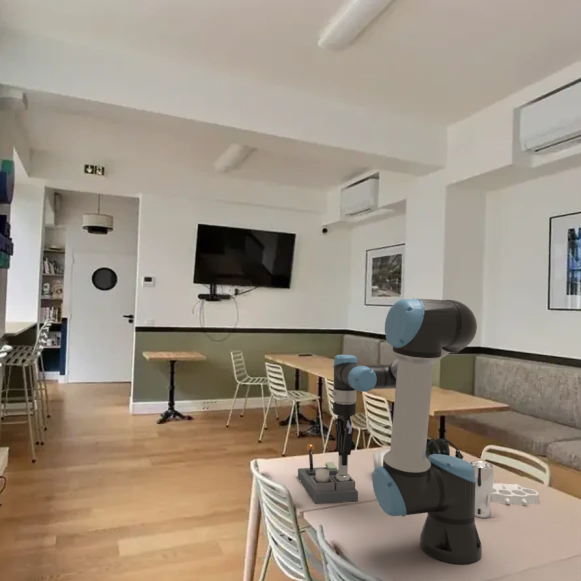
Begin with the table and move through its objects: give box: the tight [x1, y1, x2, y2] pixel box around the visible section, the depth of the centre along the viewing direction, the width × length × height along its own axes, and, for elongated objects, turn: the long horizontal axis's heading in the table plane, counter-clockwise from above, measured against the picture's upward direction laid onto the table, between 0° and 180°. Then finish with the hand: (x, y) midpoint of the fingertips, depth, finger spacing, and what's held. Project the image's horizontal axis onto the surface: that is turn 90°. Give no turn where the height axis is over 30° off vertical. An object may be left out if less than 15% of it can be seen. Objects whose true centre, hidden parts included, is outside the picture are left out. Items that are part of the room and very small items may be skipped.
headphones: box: [425, 437, 464, 460], centre depth 193 cm, size 13×13×20 cm
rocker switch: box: [324, 461, 338, 471], centre depth 172 cm, size 4×3×1 cm, turn 13°
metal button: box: [336, 473, 351, 482], centre depth 159 cm, size 4×4×3 cm
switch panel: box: [297, 466, 359, 505], centre depth 165 cm, size 24×14×6 cm, turn 13°
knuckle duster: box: [490, 482, 540, 506], centre depth 161 cm, size 3×18×15 cm
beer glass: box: [469, 460, 494, 519], centre depth 148 cm, size 7×7×15 cm
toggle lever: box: [306, 443, 315, 471], centre depth 172 cm, size 3×3×9 cm
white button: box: [316, 469, 329, 483], centre depth 158 cm, size 4×4×3 cm
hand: (342, 474), depth 159 cm, fingers closed
